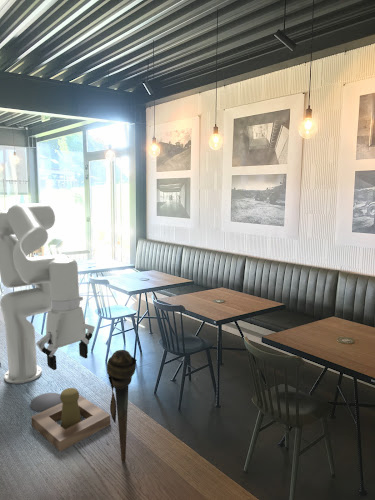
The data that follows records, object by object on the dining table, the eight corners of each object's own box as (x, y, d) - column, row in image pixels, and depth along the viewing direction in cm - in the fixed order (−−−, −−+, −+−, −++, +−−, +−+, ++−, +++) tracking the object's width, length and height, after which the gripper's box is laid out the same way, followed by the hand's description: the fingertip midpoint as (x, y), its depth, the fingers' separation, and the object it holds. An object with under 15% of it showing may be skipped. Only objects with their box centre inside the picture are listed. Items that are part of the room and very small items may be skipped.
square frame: (31, 426, 113) (31, 416, 113) (80, 403, 125) (79, 394, 124) (60, 451, 102) (59, 441, 102) (110, 424, 114) (110, 415, 114)
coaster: (24, 403, 125) (24, 401, 124) (53, 391, 132) (53, 389, 132) (39, 415, 118) (39, 414, 118) (69, 402, 125) (69, 400, 125)
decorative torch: (127, 448, 104) (125, 342, 98) (142, 462, 99) (140, 351, 93) (104, 460, 99) (100, 349, 94) (119, 475, 94) (115, 359, 89)
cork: (75, 433, 110) (74, 397, 108) (56, 430, 111) (54, 394, 109) (85, 420, 116) (84, 386, 114) (66, 417, 117) (65, 384, 115)
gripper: (84, 294, 116) (87, 349, 119) (28, 308, 103) (32, 368, 106) (99, 299, 111) (102, 356, 114) (42, 314, 98) (46, 377, 101)
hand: (68, 362), depth 110 cm, fingers open, 9 cm apart
